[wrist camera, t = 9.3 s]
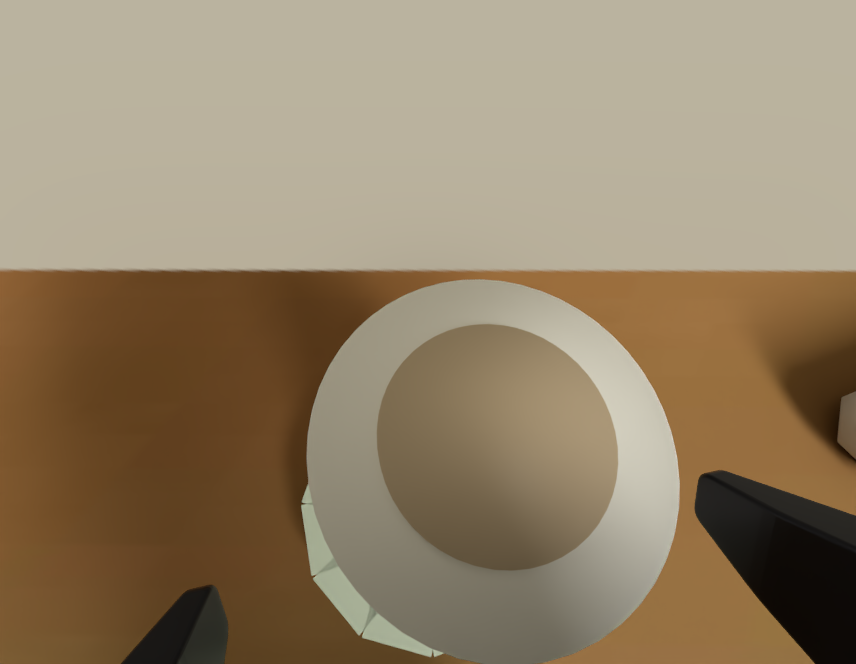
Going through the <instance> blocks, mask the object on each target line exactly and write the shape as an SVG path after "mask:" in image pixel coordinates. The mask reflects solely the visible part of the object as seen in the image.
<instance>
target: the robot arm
mask: <svg viewBox="0 0 856 664" xmlns="http://www.w3.org/2000/svg"><path fill="white" fill-rule="evenodd" d="M695 513H696V516H697V518H698V520H699V521H700V523H701V524H702V525H703V527H704V528H705V529H706V531H707V532H708V533H709V535H710V536H711V537H712V539H713V540H714V541H715V543H716V544H717V545H718V547H719V548H720V549H721V551H722V552H723V553H724V555H725V556H726V557H727V559H728V560H729V561H730V563H731V564H732V565H733V567H734V568H735V569H736V570H737V572H738V573H739V574H740V576H741V577H742V578H743V580H744V581H745V582H746V584H747V585H748V586H749V588H750V589H751V590H752V591H753V593H754V594H755V595H756V596H757V598H758V599H759V600H760V601H761V602H762V604H763V605H764V606H765V607H766V608H767V610H768V611H769V612H770V613H771V614H772V615H773V616H774V618H775V619H776V620H777V621H778V622H779V623H780V624H781V626H782V627H783V628H784V629H785V630H786V631H787V632H788V634H789V635H790V636H791V637H792V638H793V639H794V640H795V641H796V643H797V644H798V645H799V646H800V647H801V648H802V649H803V651H804V652H805V653H806V654H807V655H808V656H809V657H810V659H811V660H812V661H813V662H814V663H815V664H856V516H855V515H852V514H849V513H846V512H843V511H840V510H837V509H835V508H832V507H829V506H826V505H823V504H820V503H817V502H814V501H811V500H808V499H805V498H803V497H800V496H797V495H794V494H791V493H788V492H785V491H782V490H779V489H776V488H773V487H771V486H768V485H765V484H762V483H759V482H756V481H753V480H750V479H747V478H744V477H741V476H739V475H736V474H733V473H730V472H727V471H723V470H717V471H713V472H708V473H704V474H702V475H701V476H700V477H699V480H698V485H697V492H696V499H695ZM227 639H228V622H227V618H226V615H225V612H224V608H223V605H222V602H221V599H220V596H219V593H218V590H217V588H216V587H215V586H214V585H206V586H202V587H197V588H193V589H189V590H187V591H186V592H184V593H183V594H182V595H181V596H180V597H179V599H178V600H177V601H176V602H175V603H174V604H173V605H172V607H171V608H170V609H169V610H168V611H167V612H166V613H165V614H164V616H163V617H162V618H161V619H160V620H159V621H158V622H157V623H156V625H155V626H154V627H153V628H152V629H151V630H150V631H149V632H148V634H147V635H146V636H145V637H144V638H143V639H142V640H141V641H140V643H139V644H138V645H137V646H136V647H135V648H134V649H133V651H132V652H131V653H130V654H129V655H128V656H127V657H126V658H125V660H124V661H123V662H122V663H121V664H224V661H225V654H226V646H227Z"/></svg>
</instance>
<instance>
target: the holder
mask: <svg viewBox="0 0 856 664" xmlns="http://www.w3.org/2000/svg"><path fill="white" fill-rule="evenodd" d="M302 503H304V505H301V508H302V515H303V522H304V529H305V535H306V542H307V549H308V555H309V562H310V569H311V576H313V575H316V574H317V575H316V576H315V577H314V578H313V580H314V581H315V582H316V584H317V585H318V586H319V587H320V588H321V590H322V591H323V592H324V593H325V595H326V596H327V597H328V598H329V599H330V601H331V602H332V603H333V604H334V606H335V607H336V608H337V609H338V611H339V612H340V613H341V614H342V615H343V617H344V618H345V619H346V620H347V622H348V623H349V624H350V625H351V626H352V628H353V629H354V630H355V631H356V633H357V634H358V635H360V634H361V633H362V632H363V631H364V632H363V636H362V638H365V639H368V640H372V641H375V642H379V643H382V644H386V645H390V646H393V647H397V648H400V649H404V650H407V651H411V652H414V653H418V654H421V655H425V656H428V657H431V655H432V652H433V655H434V657H436V656H438V655H441V654H444V653H442V652H439V651H437V650H434V649H431V648H429V647H427V646H425V645H424V644H422V643H420V642H418V641H416V640H415V639H413V638H411V637H409V636H408V635H406V634H404V633H402V632H401V631H400V630H398V629H397V628H396V627H395V626H393V625H392V624H391V623H389V622H388V621H387V620H386V619H384V618H383V617H382V616H380V615H379V614H378V613H377V612H376V611H375V610H374V609H373V608H372V607H371V606H370V605H369V604H368V603H367V602H366V601H365V600H364V599H363V598H362V597H361V595H360V594H359V593H358V592H357V591H356V590H355V589H354V587H353V586H352V584H351V583H350V582H349V580H348V579H347V577H346V576H345V575H344V573H343V572H342V571H341V569H340V568H339V566H338V564H337V563H336V561H335V559H334V557H333V555H332V553H331V551H330V549H329V547H328V546H327V544H326V542H325V540H324V537H323V534H322V531H321V529H320V526H319V523H318V521H317V518H316V515H315V512H314V507H313V503H312V498H311V494H310V489H309V483H308V485H307V488H306V491H305V494H304V496H303V499H302Z"/></svg>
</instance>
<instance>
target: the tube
mask: <svg viewBox="0 0 856 664" xmlns="http://www.w3.org/2000/svg"><path fill="white" fill-rule="evenodd" d="M837 442H838V443H839V444H840V445H841V446H842V447H843V448H844V449H845V450H846V451H847V452H848V453H850V454H851V455H852V456H853V457H854V458H855V459H856V391H855V392H853V393H850V394H848V395H846V396H843V397H841V407H840V417H839V427H838V437H837Z"/></svg>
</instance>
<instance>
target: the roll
mask: <svg viewBox="0 0 856 664" xmlns="http://www.w3.org/2000/svg"><path fill="white" fill-rule="evenodd" d="M307 471H308V483H309V489H310V494H311V498H312V503H313V507H314V512H315V515H316V518H317V521H318V523H319V526H320V529H321V531H322V534H323V537H324V540H325V542H326V544H327V546H328V547H329V549H330V551H331V553H332V555H333V557H334V559H335V561H336V563H337V564H338V566H339V568H340V569H341V571H342V572H343V573H344V575H345V576H346V577H347V579H348V580H349V582H350V583H351V584H352V586H353V587H354V589H355V590H356V591H357V592H358V593H359V594H360V595H361V597H362V598H363V599H364V600H365V601H366V602H367V603H368V604H369V605H370V606H371V607H372V608H373V609H374V610H375V611H376V612H377V613H378V614H379V615H380V616H382V617H383V618H384V619H386V620H387V621H388V622H389V623H391V624H392V625H393V626H395V627H396V628H397V629H398V630H400V631H401V632H402V633H404V634H406V635H408V636H409V637H411V638H413V639H415V640H416V641H418V642H420V643H422V644H424V645H425V646H427V647H429V648H431V649H434V650H437V651H439V652H442V653H445V654H447V655H450V656H453V657H455V658H458V659H463V660H468V661H473V662H477V663H482V664H535V663H543V662H548V661H551V660H555V659H558V658H561V657H564V656H568V655H571V654H574V653H576V652H578V651H580V650H582V649H584V648H586V647H588V646H590V645H592V644H594V643H596V642H598V641H600V640H601V639H602V638H604V637H605V636H606V635H608V634H609V633H610V632H612V631H613V630H614V629H616V628H617V627H618V626H620V625H621V624H622V623H623V622H624V621H625V620H626V619H627V618H628V617H629V616H630V615H631V614H632V613H633V612H634V611H635V609H636V608H637V607H638V606H639V605H640V604H641V603H642V601H643V600H644V598H645V597H646V595H647V594H648V593H649V591H650V590H651V588H652V587H653V585H654V584H655V582H656V580H657V578H658V576H659V574H660V572H661V570H662V568H663V566H664V564H665V562H666V559H667V557H668V554H669V550H670V547H671V544H672V541H673V537H674V534H675V529H676V523H677V516H678V510H679V486H680V482H679V471H678V461H677V455H676V450H675V446H674V441H673V437H672V433H671V430H670V427H669V424H668V421H667V418H666V415H665V412H664V410H663V408H662V406H661V404H660V402H659V399H658V397H657V395H656V393H655V391H654V389H653V387H652V386H651V384H650V383H649V381H648V379H647V378H646V376H645V374H644V373H643V371H642V370H641V368H640V367H639V366H638V364H637V363H636V362H635V360H634V359H633V358H632V357H631V355H630V354H629V353H628V351H627V350H626V349H625V348H624V347H623V346H622V345H621V344H620V343H619V342H618V341H617V340H616V339H615V338H614V337H613V336H612V335H611V334H610V333H609V332H608V331H606V330H605V329H604V328H603V327H602V326H601V325H599V324H598V323H597V322H596V321H595V320H593V319H592V318H590V317H589V316H587V315H586V314H584V313H583V312H582V311H580V310H579V309H577V308H575V307H573V306H572V305H570V304H568V303H566V302H564V301H563V300H561V299H559V298H556V297H554V296H552V295H549V294H547V293H544V292H542V291H539V290H536V289H533V288H530V287H526V286H523V285H519V284H514V283H509V282H503V281H494V280H459V281H452V282H444V283H440V284H436V285H432V286H428V287H424V288H421V289H419V290H416V291H414V292H411V293H409V294H406V295H404V296H402V297H400V298H398V299H396V300H395V301H393V302H391V303H389V304H387V305H386V306H384V307H383V308H382V309H380V310H379V311H377V312H376V313H374V314H373V315H372V316H370V317H369V318H368V319H367V320H366V321H365V322H364V323H363V324H362V325H361V326H359V327H358V328H357V329H356V330H355V331H354V332H353V334H352V335H351V336H350V337H349V338H348V339H347V341H346V342H345V343H344V344H343V345H342V347H341V348H340V350H339V351H338V353H337V354H336V356H335V357H334V359H333V360H332V362H331V364H330V365H329V367H328V369H327V371H326V373H325V376H324V378H323V380H322V382H321V384H320V386H319V389H318V392H317V395H316V399H315V402H314V405H313V408H312V412H311V418H310V424H309V429H308V438H307Z"/></svg>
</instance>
